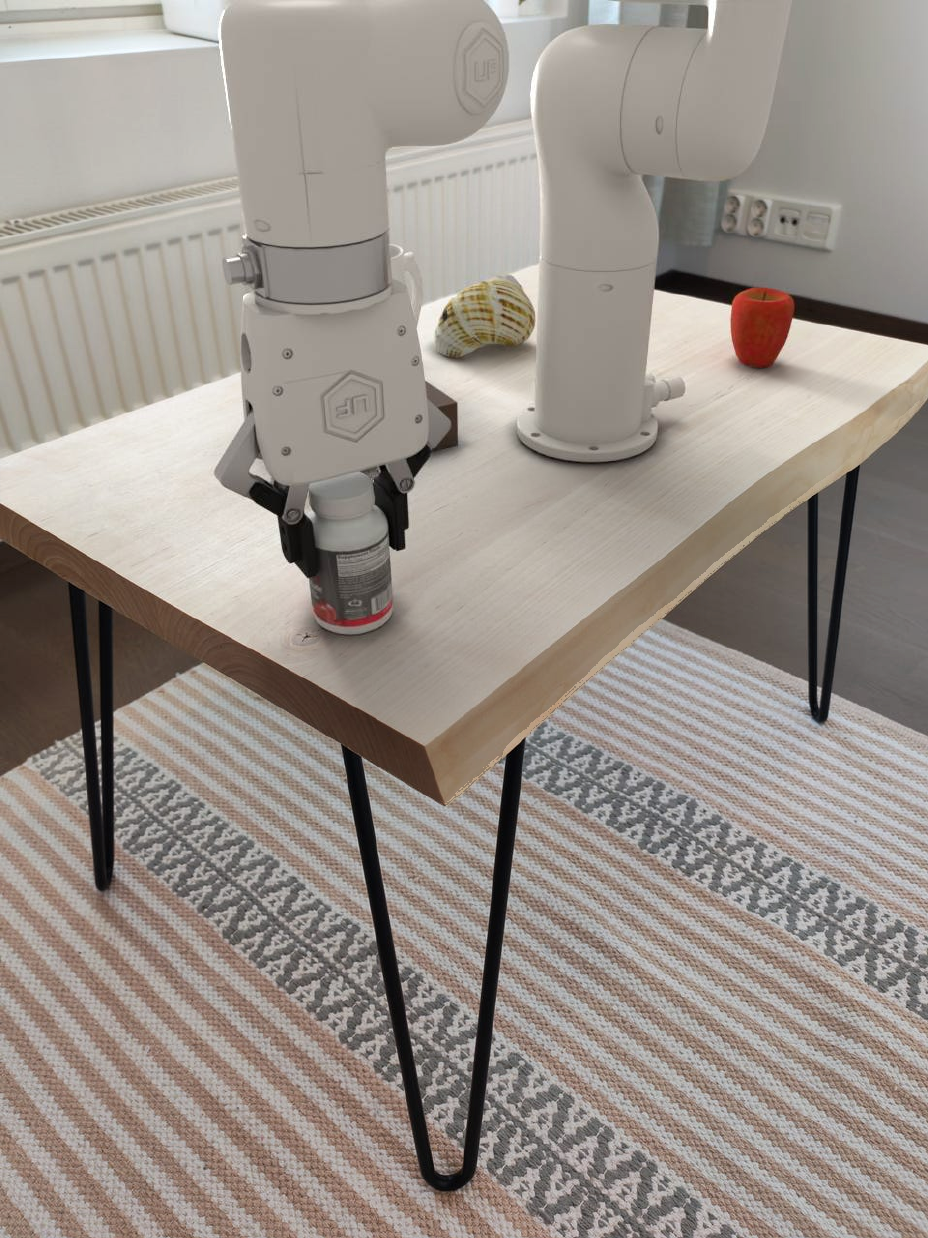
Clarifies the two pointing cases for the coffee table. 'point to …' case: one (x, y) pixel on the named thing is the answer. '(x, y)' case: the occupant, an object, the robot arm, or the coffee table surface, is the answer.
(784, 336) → the apple
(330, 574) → the pill bottle
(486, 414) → the coffee table surface
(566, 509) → the coffee table surface
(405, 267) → the mug
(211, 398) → the coffee table surface
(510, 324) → the seashell
